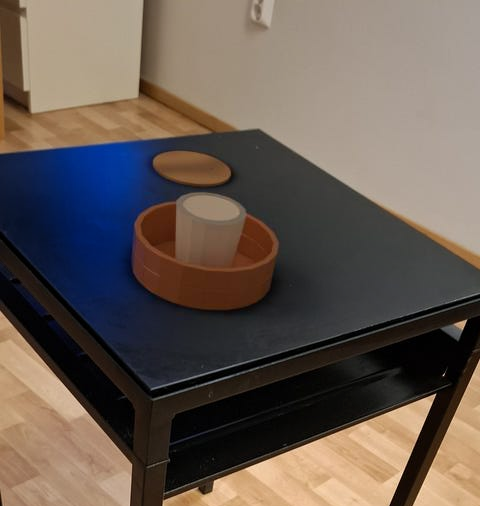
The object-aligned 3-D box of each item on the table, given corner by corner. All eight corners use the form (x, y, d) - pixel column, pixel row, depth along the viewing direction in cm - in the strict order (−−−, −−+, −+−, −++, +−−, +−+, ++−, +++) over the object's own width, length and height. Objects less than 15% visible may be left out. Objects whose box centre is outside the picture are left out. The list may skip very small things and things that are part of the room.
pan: (102, 260, 74) (104, 219, 71) (202, 228, 83) (207, 190, 80) (201, 328, 68) (207, 286, 65) (297, 285, 77) (306, 247, 74)
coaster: (136, 163, 94) (136, 158, 93) (192, 150, 100) (193, 145, 100) (190, 194, 89) (191, 190, 89) (246, 179, 96) (246, 174, 95)
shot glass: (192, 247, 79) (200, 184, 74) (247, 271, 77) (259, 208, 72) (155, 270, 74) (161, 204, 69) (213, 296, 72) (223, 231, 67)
